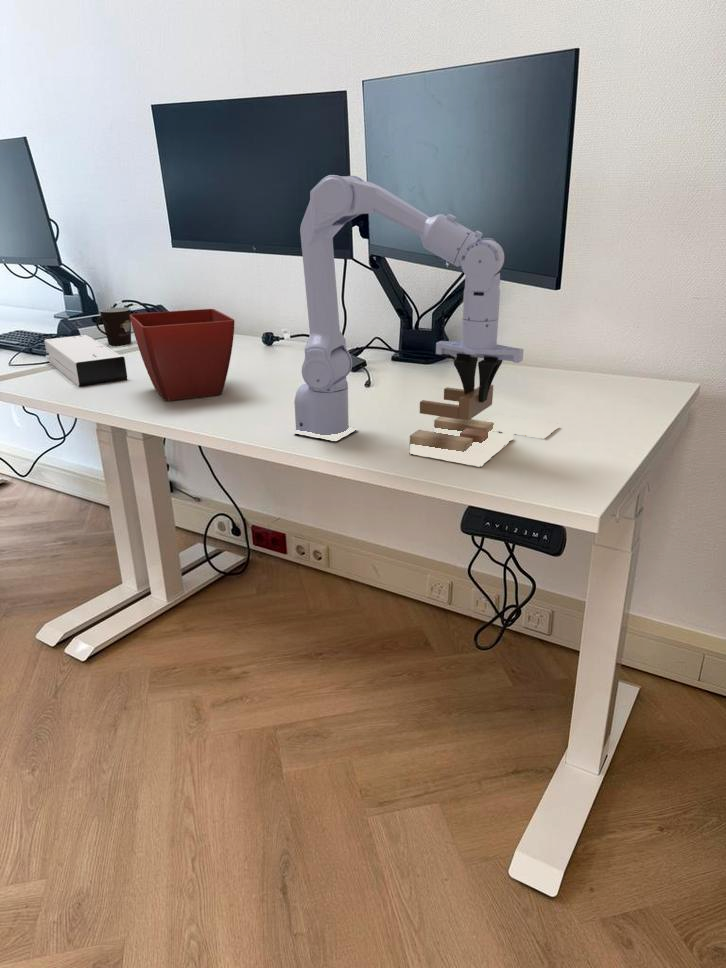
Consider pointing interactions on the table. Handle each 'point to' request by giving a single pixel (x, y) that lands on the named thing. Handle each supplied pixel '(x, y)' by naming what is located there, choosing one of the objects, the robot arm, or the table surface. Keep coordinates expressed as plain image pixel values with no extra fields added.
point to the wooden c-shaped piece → (464, 410)
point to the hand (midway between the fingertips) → (476, 400)
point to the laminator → (85, 360)
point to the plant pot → (185, 351)
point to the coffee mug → (116, 325)
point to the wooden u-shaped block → (469, 434)
